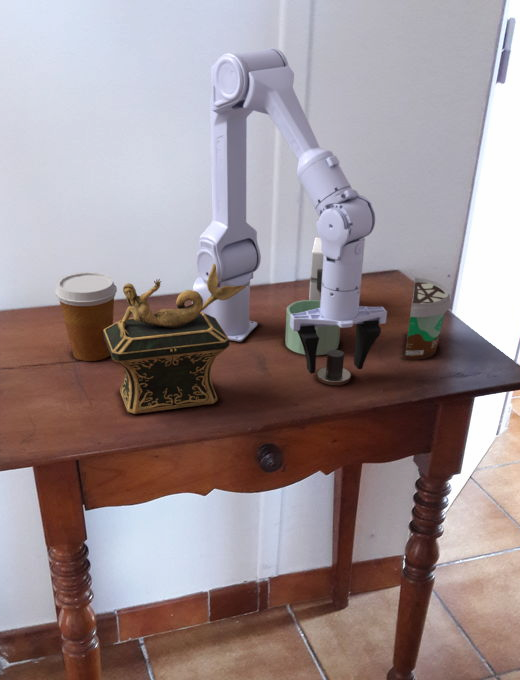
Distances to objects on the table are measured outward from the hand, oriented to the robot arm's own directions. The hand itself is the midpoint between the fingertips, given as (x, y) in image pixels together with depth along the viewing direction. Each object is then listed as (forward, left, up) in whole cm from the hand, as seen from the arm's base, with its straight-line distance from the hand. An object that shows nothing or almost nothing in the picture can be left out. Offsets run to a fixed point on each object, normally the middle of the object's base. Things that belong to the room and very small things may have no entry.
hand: (334, 368), depth 133 cm
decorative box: (-20, -15, -2) cm, 25 cm away
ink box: (-10, +26, -2) cm, 28 cm away
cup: (-7, +11, -2) cm, 13 cm away
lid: (0, 0, -2) cm, 2 cm away
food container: (+11, +16, -2) cm, 19 cm away
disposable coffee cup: (-39, -7, -2) cm, 40 cm away
